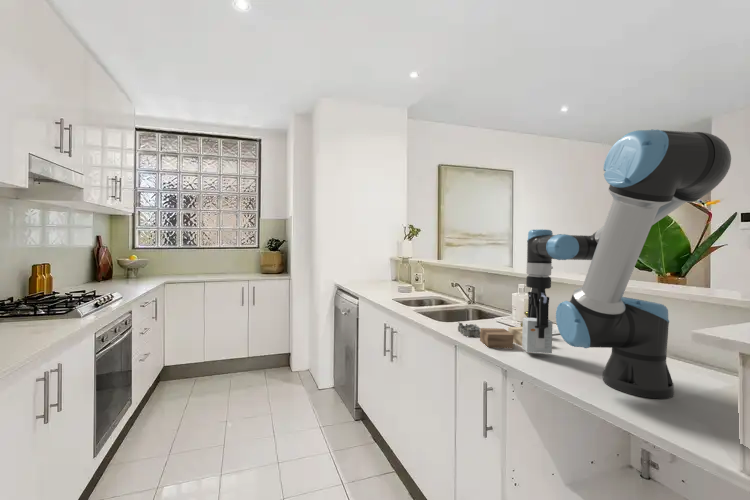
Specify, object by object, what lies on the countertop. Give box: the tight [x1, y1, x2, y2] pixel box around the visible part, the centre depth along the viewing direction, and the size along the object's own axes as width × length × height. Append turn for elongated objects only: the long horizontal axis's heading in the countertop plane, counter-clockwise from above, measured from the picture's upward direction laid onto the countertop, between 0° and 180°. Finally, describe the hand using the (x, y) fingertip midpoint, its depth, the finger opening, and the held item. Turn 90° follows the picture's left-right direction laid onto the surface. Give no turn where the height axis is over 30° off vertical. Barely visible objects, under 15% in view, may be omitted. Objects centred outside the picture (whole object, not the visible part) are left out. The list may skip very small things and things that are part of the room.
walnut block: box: [479, 327, 514, 349], centre depth 131 cm, size 9×9×5 cm
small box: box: [521, 317, 553, 354], centre depth 120 cm, size 8×6×10 cm
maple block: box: [507, 326, 523, 347], centre depth 134 cm, size 9×9×5 cm
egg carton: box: [457, 320, 481, 338], centre depth 146 cm, size 11×8×4 cm
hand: (536, 344), depth 120 cm, fingers closed on small box, 6 cm apart
